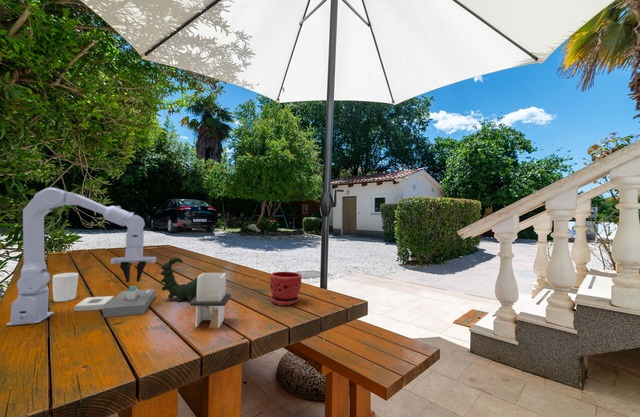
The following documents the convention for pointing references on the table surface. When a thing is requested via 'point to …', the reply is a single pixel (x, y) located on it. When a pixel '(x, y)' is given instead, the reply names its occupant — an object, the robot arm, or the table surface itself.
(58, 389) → the table surface
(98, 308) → the square frame
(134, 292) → the plug
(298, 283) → the plant pot
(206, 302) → the white grey toy chair
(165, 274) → the toy figurine
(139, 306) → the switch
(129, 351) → the table surface
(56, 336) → the table surface
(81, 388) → the table surface
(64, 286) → the white cup
